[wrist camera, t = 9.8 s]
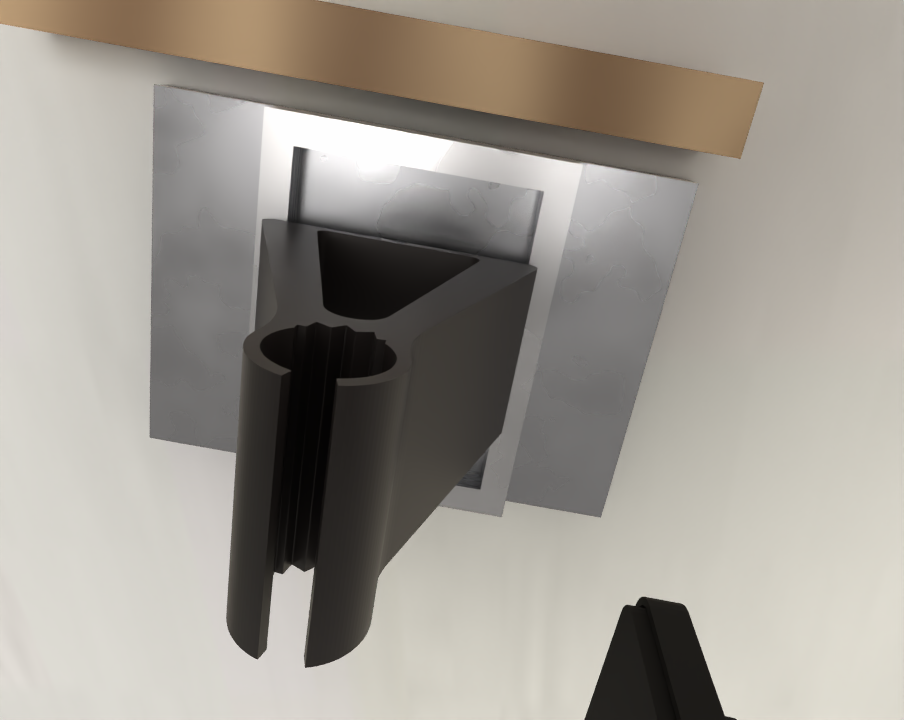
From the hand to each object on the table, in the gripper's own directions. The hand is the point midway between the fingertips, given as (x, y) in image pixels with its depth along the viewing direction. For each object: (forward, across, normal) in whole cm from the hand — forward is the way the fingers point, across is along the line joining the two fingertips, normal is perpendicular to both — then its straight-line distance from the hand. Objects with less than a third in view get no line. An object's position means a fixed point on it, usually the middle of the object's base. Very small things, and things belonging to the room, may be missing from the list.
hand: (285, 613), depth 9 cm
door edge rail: (+17, +2, -7) cm, 19 cm away
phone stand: (+15, +1, +1) cm, 15 cm away
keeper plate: (+17, 0, +1) cm, 17 cm away
